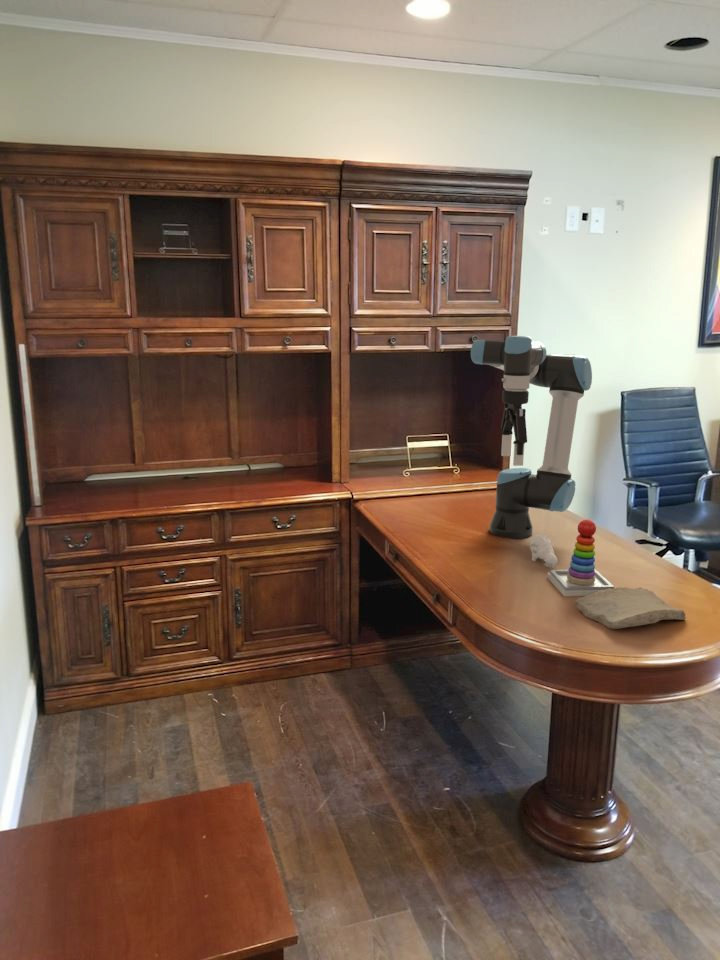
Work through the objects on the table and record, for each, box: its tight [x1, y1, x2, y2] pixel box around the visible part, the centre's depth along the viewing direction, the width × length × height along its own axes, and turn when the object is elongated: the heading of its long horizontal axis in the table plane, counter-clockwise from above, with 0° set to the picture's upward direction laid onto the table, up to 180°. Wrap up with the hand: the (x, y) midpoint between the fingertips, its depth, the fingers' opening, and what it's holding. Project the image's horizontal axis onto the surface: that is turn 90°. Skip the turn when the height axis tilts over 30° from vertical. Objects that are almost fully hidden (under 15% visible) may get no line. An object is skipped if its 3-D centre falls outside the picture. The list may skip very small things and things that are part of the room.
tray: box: [547, 569, 615, 597], centre depth 216 cm, size 15×15×2 cm
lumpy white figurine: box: [529, 533, 558, 569], centre depth 234 cm, size 6×8×12 cm
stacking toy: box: [567, 519, 597, 585], centre depth 214 cm, size 8×8×19 cm
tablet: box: [575, 586, 687, 630], centre depth 195 cm, size 24×8×20 cm
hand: (511, 460), depth 221 cm, fingers open, 13 cm apart
